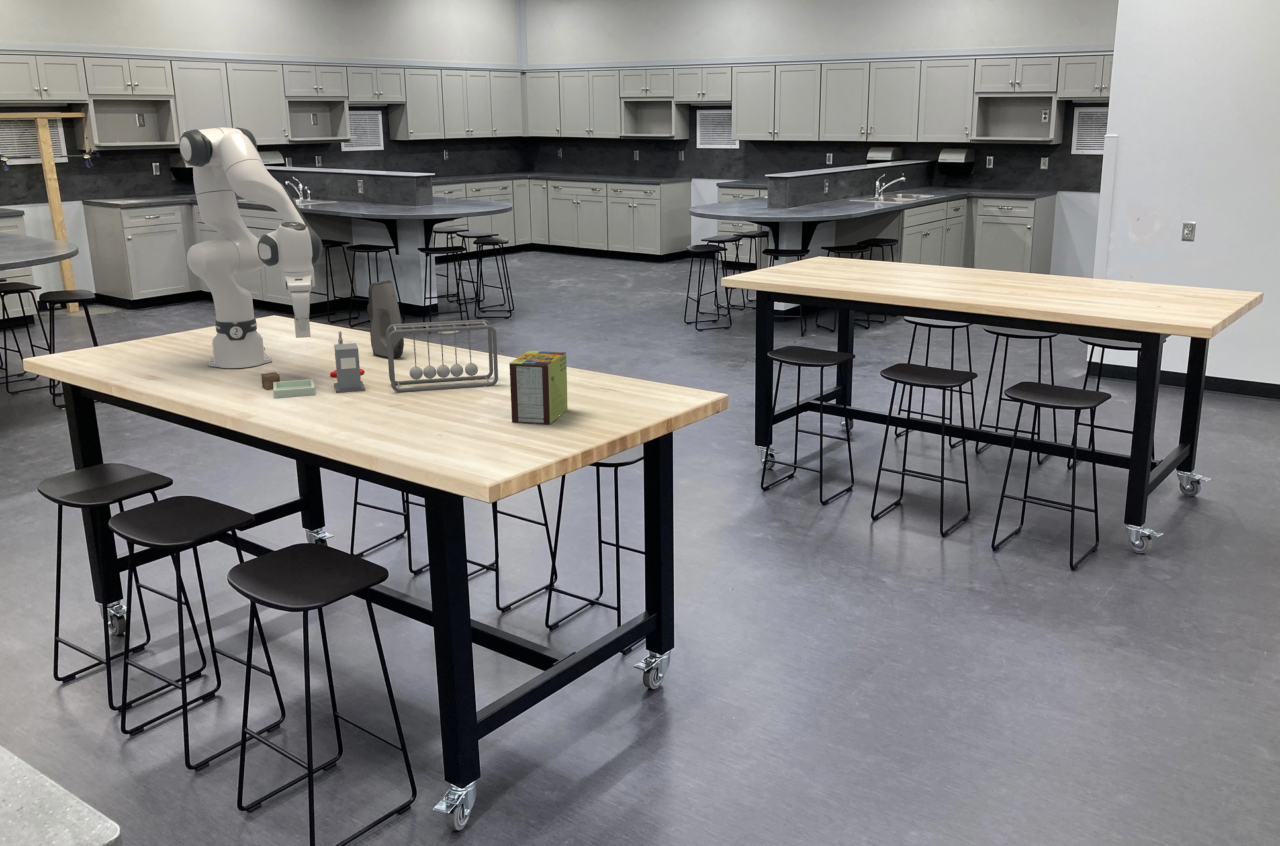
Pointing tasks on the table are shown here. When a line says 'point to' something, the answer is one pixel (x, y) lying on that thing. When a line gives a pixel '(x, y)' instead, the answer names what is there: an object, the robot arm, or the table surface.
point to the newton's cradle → (442, 370)
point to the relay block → (302, 333)
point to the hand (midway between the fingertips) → (302, 328)
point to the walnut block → (269, 380)
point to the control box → (347, 368)
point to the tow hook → (340, 341)
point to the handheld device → (384, 318)
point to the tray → (293, 388)
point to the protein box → (538, 387)
